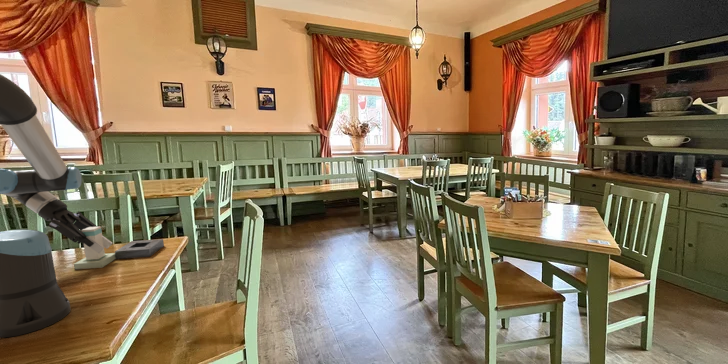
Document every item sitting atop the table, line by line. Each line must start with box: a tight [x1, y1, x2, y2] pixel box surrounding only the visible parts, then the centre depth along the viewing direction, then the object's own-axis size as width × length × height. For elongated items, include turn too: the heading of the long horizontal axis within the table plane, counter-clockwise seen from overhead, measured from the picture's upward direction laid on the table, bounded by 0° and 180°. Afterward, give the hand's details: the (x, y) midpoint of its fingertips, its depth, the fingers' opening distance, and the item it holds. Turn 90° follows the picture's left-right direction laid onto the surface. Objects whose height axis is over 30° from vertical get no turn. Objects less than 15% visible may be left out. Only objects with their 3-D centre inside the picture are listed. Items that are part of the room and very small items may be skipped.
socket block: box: [114, 238, 165, 260], centre depth 135 cm, size 12×12×3 cm
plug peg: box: [80, 226, 106, 260], centre depth 124 cm, size 4×4×11 cm
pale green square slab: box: [73, 252, 117, 270], centre depth 125 cm, size 9×9×2 cm
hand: (105, 247), depth 125 cm, fingers closed on plug peg, 4 cm apart
